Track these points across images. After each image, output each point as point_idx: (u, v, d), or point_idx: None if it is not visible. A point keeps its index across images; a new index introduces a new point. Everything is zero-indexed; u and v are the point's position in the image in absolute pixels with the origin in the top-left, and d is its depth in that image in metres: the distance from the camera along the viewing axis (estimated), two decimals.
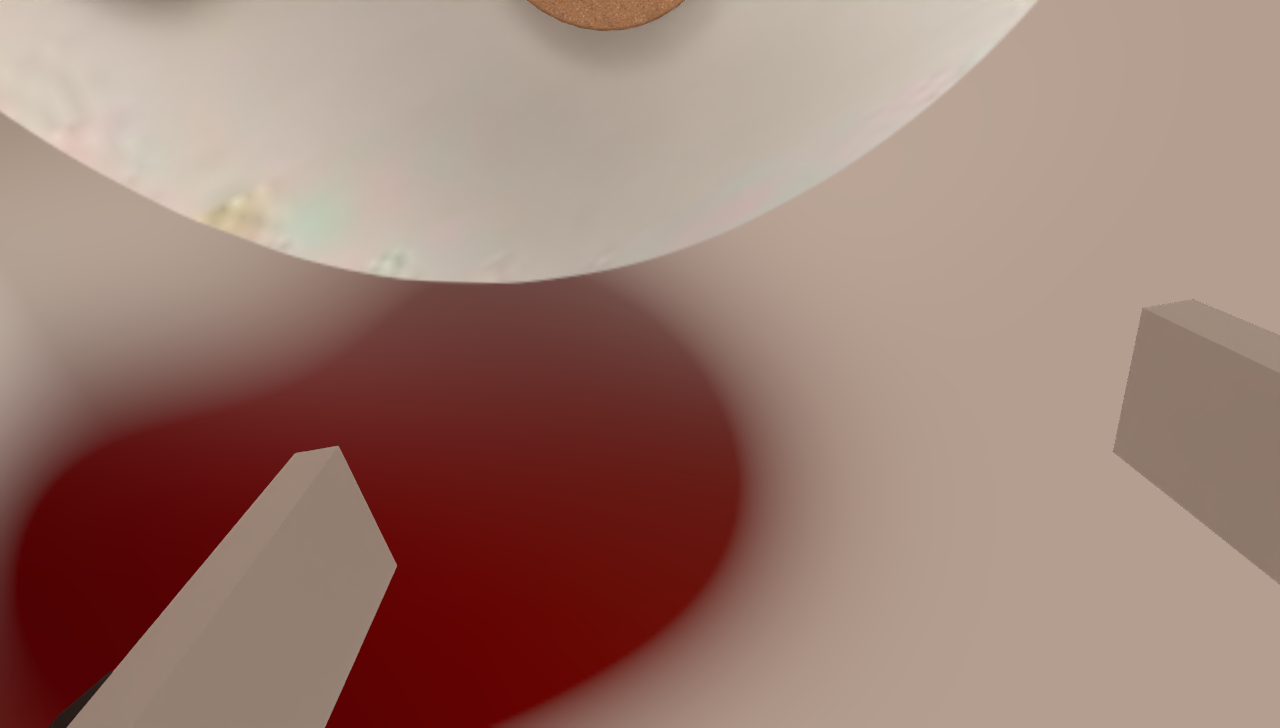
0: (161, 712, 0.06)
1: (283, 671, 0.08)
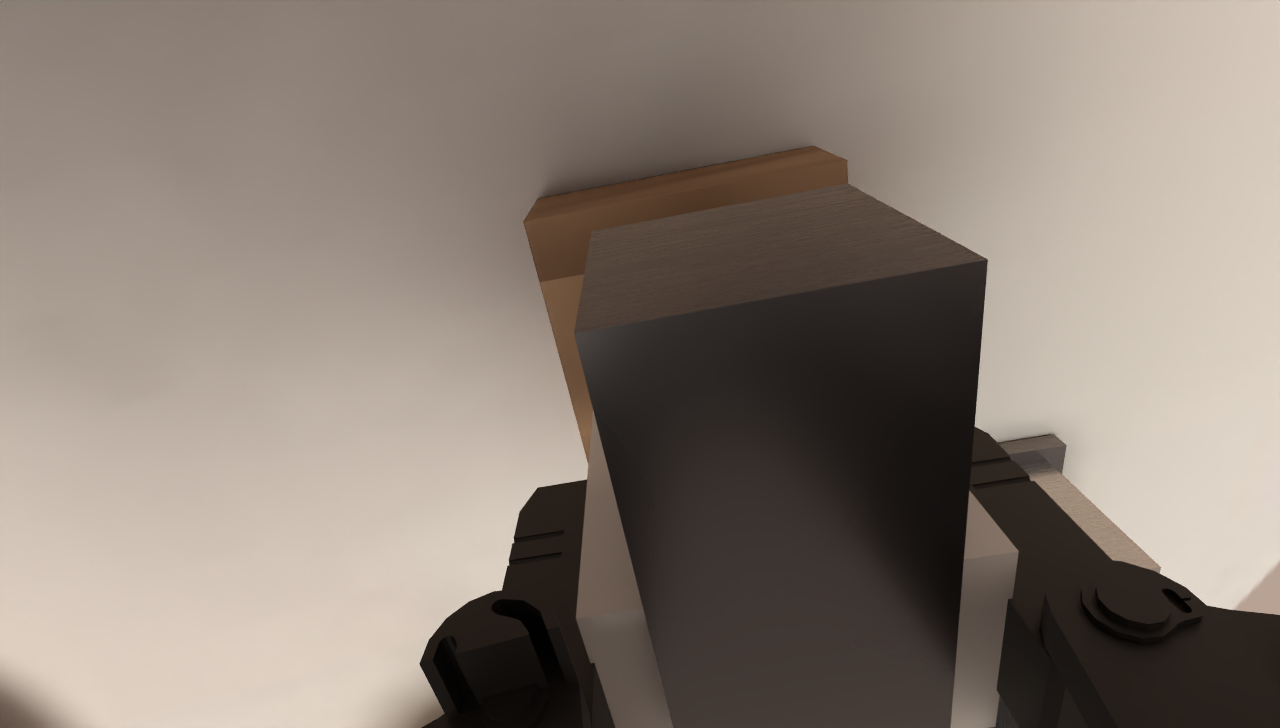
0: None
1: None
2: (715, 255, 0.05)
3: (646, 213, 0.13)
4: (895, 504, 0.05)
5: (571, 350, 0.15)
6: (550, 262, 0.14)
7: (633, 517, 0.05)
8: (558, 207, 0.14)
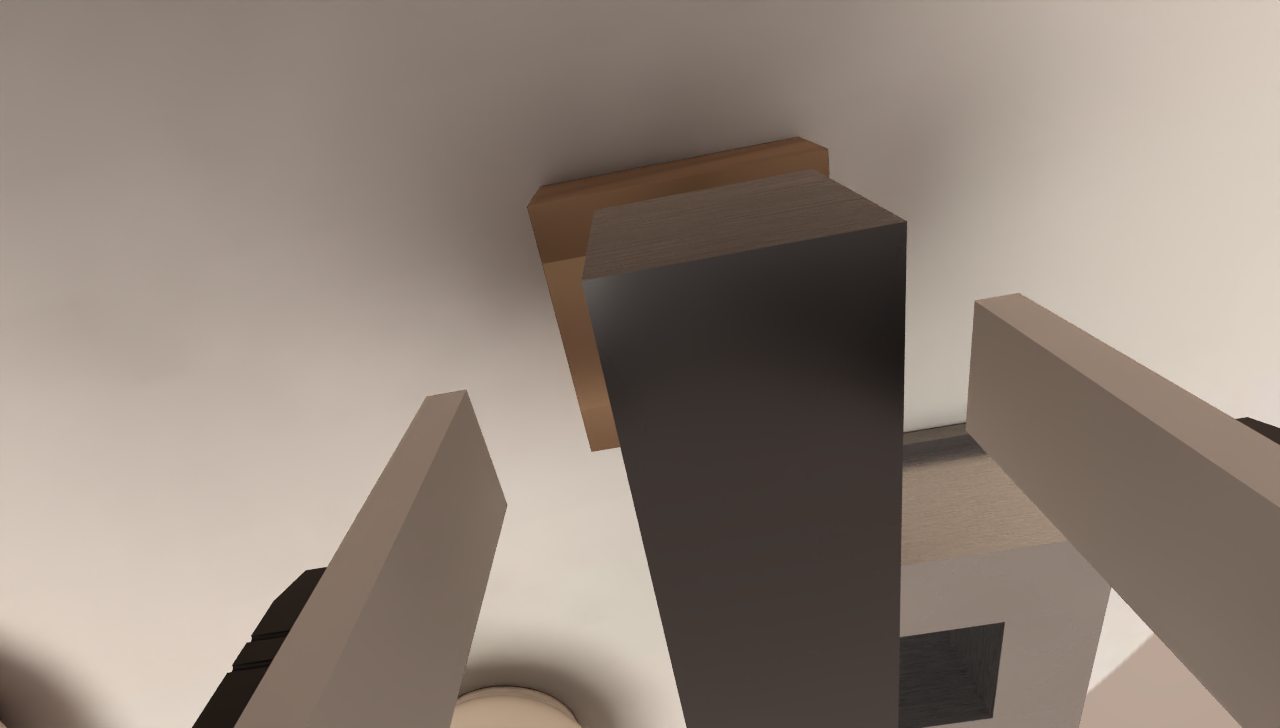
0: (384, 587, 0.07)
1: (448, 576, 0.09)
2: (696, 225, 0.06)
3: (641, 199, 0.14)
4: (842, 427, 0.06)
5: (571, 328, 0.16)
6: (552, 245, 0.15)
7: (629, 438, 0.06)
8: (559, 194, 0.15)
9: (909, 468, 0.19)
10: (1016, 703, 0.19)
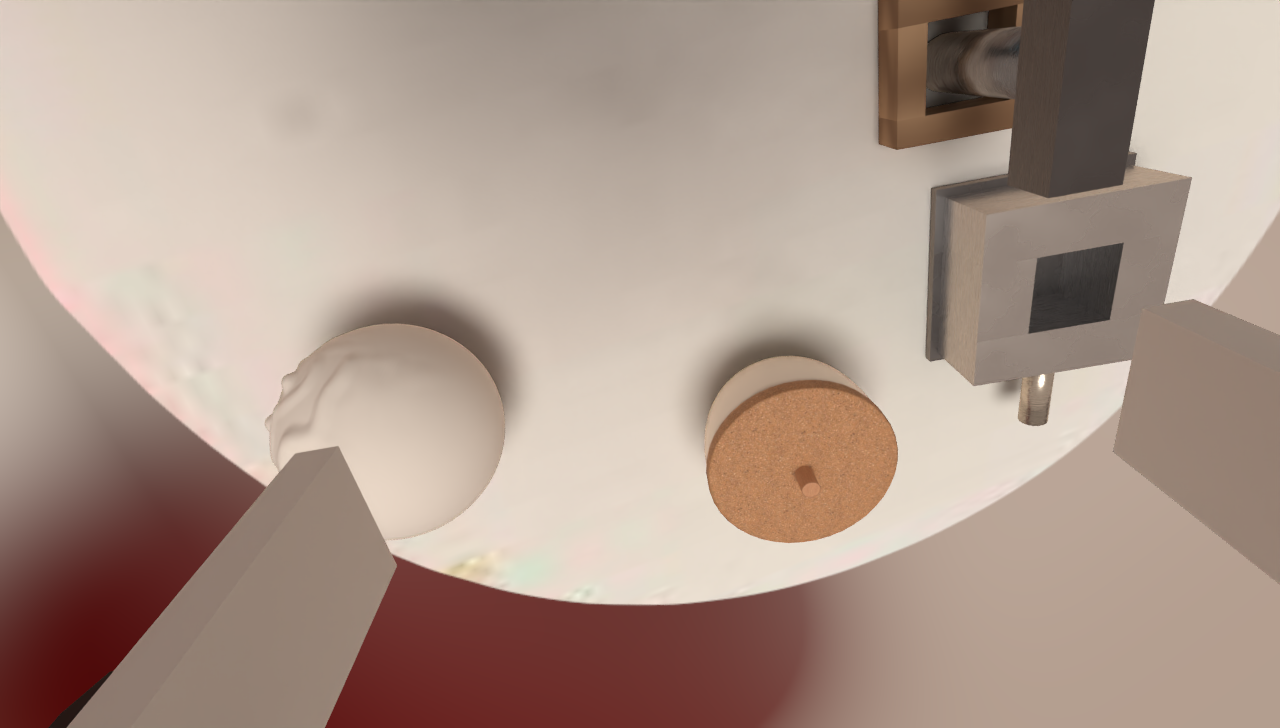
0: (161, 712, 0.06)
1: (283, 671, 0.08)
2: None
3: None
4: None
5: (904, 68, 0.30)
6: (905, 17, 0.29)
7: None
8: None
9: None
10: (1124, 308, 0.33)
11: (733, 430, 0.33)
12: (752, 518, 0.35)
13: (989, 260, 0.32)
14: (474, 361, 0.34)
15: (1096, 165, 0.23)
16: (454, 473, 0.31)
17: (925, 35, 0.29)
